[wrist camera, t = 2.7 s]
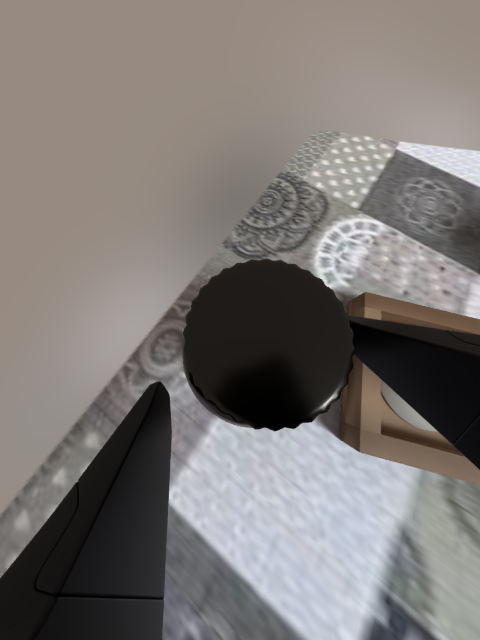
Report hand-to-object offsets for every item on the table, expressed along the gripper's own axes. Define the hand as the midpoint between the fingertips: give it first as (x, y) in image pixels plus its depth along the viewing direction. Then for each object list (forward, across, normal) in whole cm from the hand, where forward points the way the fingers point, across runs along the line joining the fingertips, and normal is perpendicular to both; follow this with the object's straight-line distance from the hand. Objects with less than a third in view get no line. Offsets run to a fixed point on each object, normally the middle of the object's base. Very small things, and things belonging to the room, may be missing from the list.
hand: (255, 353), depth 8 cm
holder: (+1, -14, +11) cm, 18 cm away
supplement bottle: (+6, 0, +6) cm, 8 cm away
